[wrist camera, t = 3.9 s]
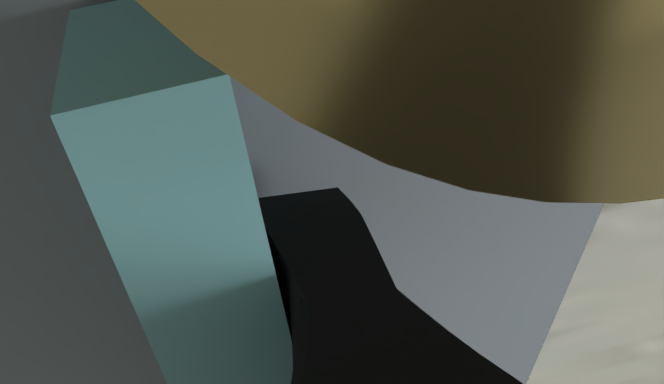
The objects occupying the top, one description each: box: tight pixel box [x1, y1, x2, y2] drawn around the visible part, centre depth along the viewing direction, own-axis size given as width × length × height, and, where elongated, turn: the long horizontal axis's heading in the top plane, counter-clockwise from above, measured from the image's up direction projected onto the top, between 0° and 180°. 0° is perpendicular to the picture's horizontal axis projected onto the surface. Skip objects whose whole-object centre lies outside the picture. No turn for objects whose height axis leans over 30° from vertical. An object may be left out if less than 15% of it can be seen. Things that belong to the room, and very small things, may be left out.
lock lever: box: [50, 0, 293, 384], centre depth 8 cm, size 8×2×3 cm, turn 7°
